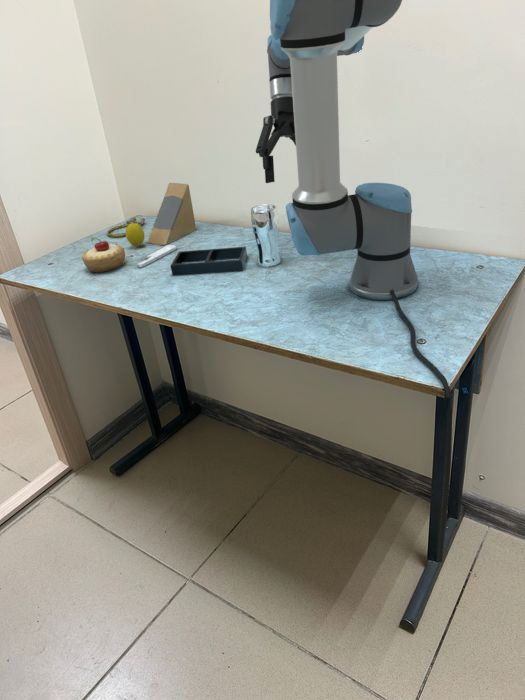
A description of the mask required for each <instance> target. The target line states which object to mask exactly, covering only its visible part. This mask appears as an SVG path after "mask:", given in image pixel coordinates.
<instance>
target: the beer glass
mask: <svg viewBox="0 0 525 700" xmlns="http://www.w3.org/2000/svg"><path fill="white" fill-rule="evenodd" d="M250 219H251V221H250V222H251V228H252V234H253V237H254V240H255V243H256V246H257V251H258V259H257V262H258V265H259V266H260V267H265V268H266V267H267V268H269V267H274V266H277V265H279V264H280V263H281V262H282V261H281V257H280V253H279V232H280V231H279V230H280V226H279V217H278V211H277V206H276V205H274V204H270V203H264V204H258V205H255V206H253V207H251V208H250Z"/></svg>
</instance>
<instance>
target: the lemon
mask: <svg viewBox="0 0 525 700" xmlns="http://www.w3.org/2000/svg"><path fill="white" fill-rule="evenodd" d="M125 233H126V236H125V238H126V240H127V242H128V243H129V244H130V245H131V246H134V247H136V248H140V246H141V245H142V244H143V243H144V242H145V231H144V229H143V227H142V225H139V223H136V222H134V223H133V222H131V224H129V225H127V227H125Z"/></svg>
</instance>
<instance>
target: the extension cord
mask: <svg viewBox="0 0 525 700" xmlns="http://www.w3.org/2000/svg"><path fill="white" fill-rule="evenodd" d="M136 221H137V217H135V216H132V217H130V218H128V219H127V221H126V222H125V223H124V224H122V225H121V224H120V225H116V226H113V227H111V228H110V229H108V230H107V231H106V234H107V235H108V236H109V237H110V238H122V237H126V232H122V233H113V234H112V233H111V232H112V231H115V230H117V229H122V228H123V229H124V228H127V226H128V225H129V224H131V222H133V223H136ZM145 221H146V219H145V218H144V217H140V218H139V220H138V224H139V225H140V226H143V225H144V223H145Z"/></svg>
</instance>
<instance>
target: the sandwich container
mask: <svg viewBox="0 0 525 700" xmlns="http://www.w3.org/2000/svg"><path fill="white" fill-rule="evenodd" d="M194 214H195V213H194V208H193V202H192V197H191V191H190V185H189V184H187V183H179V182H168V184H167V187H166V191H165V193H164V196H163V199H162V202H161V205H160V207H159V210H158V212H157V215H156V218H155V221H154V223H153V226H152V229H151V231H150V233H149V236H148V239H147V241H146V243H148V244H152V245H160V246H168V245H170V244H171V243H173V242H175V241H177V240H179V239H180V238H183V237H185V236H187V235H188V234H191V233H193V232H194V231H196V230H197V226H196V225H197V224H196V220H195V215H194Z"/></svg>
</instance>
